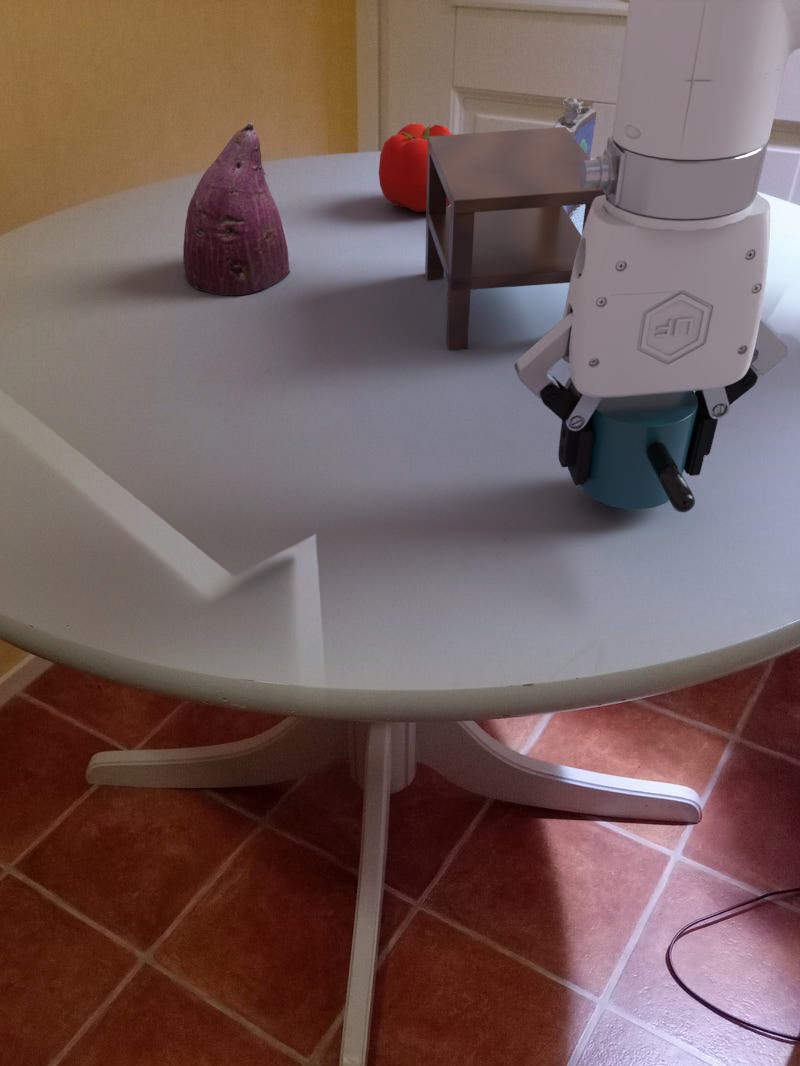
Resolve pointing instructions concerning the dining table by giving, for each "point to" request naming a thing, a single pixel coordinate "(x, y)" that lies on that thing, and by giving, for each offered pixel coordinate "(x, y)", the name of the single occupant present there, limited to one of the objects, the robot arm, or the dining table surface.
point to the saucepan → (642, 451)
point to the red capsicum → (407, 166)
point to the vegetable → (235, 224)
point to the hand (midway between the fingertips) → (630, 466)
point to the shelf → (501, 213)
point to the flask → (578, 129)
